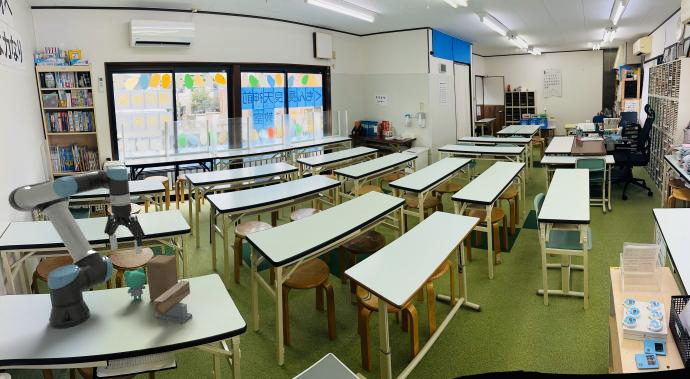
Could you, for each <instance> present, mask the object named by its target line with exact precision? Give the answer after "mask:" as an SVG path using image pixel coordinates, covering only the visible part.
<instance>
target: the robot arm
mask: <svg viewBox="0 0 690 379" xmlns="http://www.w3.org/2000/svg"><path fill="white" fill-rule="evenodd" d="M99 189H105V190H108V193H109V201H110V204H111V206H110V209H111V212H110V213H108V214H107V220H106V224H105V228H104V231H103V233H104V234H107V235H108V239H109V242H110V250H111V251H114V250H117V249H118V248H119V247H118V240H117V234H116V231H117V230H118V228H119V226H123V227H125V228H127V229H128V231H129V232H130V233H131V235H132V236H133V237H134V238H135V239H134V240H133V241H134V249H135V255H139V254H142V253H143V248H142V246H143V240H142V239H143V238H145V237H146V234H145V232H144V229H143V228H142V226H141V224H140V222H139V219H138V216H137V215H136V214H135V215H133V216H132V215H131V212H132V211H133V210H132V203H131V202H132V200H131V194H130V193H131V192H130V182H129V176H128V171H127V168H126V167H124V166H110V167H107V168H106V170H102V169H89V170H88V172H84V173H80V174H74V175H69V176H62V177H59V178H56V179H55V180H45V181H42V182H38V183H33V184H28V185H27V184H26V185H21V186H19V187H16V188H14V189H13V190H12V191H11V192H10V193H9V195H8V205H10V207H11V208H12V209H14V210H15V211H19V212H21V213H22V212H24V213H26V212H27V213H29V212H33V211H34V212H35V211H38V210H39V211H40V213H41V215H43V216H46V217H47V218H48V219H49V221H50V223H51V225H53V228H54V229H55V231H56V233H57V235H58V236H59V238H60V239H61V241H62V243H63V244H64V246H65V248H66V250H67V251H68V253H69V255H70V256H71V259H72V260H73V262H72V264H66V265H62V266H59V267H57V268H55V269H53V270H52V271H51V272H49V274H48V275H47V287H48V291H49V292H48V293H49V297H50V302H51V303H50V304H51V311H50V315H49V319H48V321H49V322H48V323H49V325H50V327H51V328H54V329H66V328H71V327H74V326H77V325H78V326H79V324H82V323H83V322H84V323H85V322H86V321H87V320H89V318H90V316H91V312H90V307H89V306H88V305H87V302H85V300H84V296H83V293H84V292H85V291H87V290H89V289H90V290H91V289H92V288H94V287H96V286H98V285H100V284H101V285H102V284H103V283H106V282H107V281H109V280H110V279H111V278H112V276H113V273H114V266H113V263H112V260H111V259H110V258H109V257H108V256H106V255H101V254H100V252H99V251H96V250H94V249H93V247H92V245H91V244H90V242H89V241H88V240H87V238H86V236H85V234H84V232H83V231H82V229H81V228H80V226H79V225H78V223H77V221H76V219H75V218H74V216H73V215H72V213H71V211H70V209H69V208H68V207H69V204H70V202H69V201H70V199H71V196H74V195H79V194H83V193H87V192H91V191H96V190H99Z"/></svg>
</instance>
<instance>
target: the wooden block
mask: <svg viewBox="0 0 690 379" xmlns="http://www.w3.org/2000/svg"><path fill="white" fill-rule="evenodd" d="M145 266H146V273H147V274H146V276H147V282H148V290H149V299H150V301H154V300H156V299H157V298H158V297H160V296H161V295H162V294H164V293H165V292H166V291H168V290H169V289H170V288H172V287H173V286H175V285H176V284H177V283H179V279H178V278H179V277H178V268H177V257H176V256H175V255H168V254H167V255H164V254H157V255H155V256H154V257H153V258H151V259H149V260H147V261H146V264H145Z"/></svg>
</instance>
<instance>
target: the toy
mask: <svg viewBox="0 0 690 379" xmlns="http://www.w3.org/2000/svg"><path fill="white" fill-rule="evenodd" d="M123 275H124V283H125V285H126V286H127V288H128V290H127V293H128V294H130V297H133V301H137V300H138V299H142V295H143V294H144V292H143V290H145V289H146V287H147V286H146V285H145V283H146V282H147V274H145V269H144V268H143V267H141V266H139V267H138V268H136V270H133V271H130V270H125V271H124V273H123Z"/></svg>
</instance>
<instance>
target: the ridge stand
mask: <svg viewBox="0 0 690 379" xmlns="http://www.w3.org/2000/svg"><path fill="white" fill-rule="evenodd" d="M187 306H188V304H187V303H183V302H179V303H178V304H176V305H175V306H174V307H173V308H172V309H170V310H169V311H168V312H167V313H165V314H164V315H160V314H156V318H157V319H161V320H165V321H169V322H174V323H179V324H182V325H183V324H185V323H186V322H187V321H189V320H190V319H192V318H193V313H189V312H188V307H187Z"/></svg>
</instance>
